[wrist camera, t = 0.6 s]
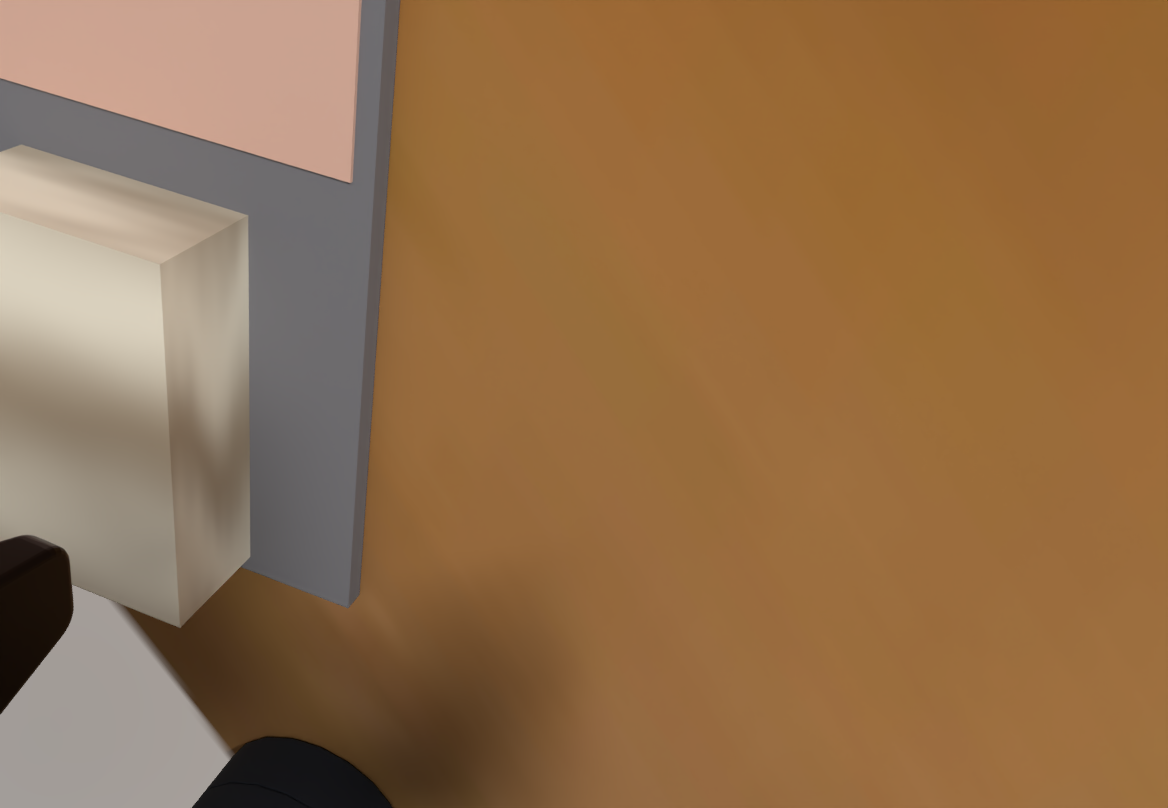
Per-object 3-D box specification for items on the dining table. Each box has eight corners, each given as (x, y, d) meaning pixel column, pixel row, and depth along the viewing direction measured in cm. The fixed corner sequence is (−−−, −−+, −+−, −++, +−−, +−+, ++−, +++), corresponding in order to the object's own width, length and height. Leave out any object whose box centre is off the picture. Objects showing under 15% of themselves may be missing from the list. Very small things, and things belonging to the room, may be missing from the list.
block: (250, 557, 29) (179, 628, 26) (63, 485, 30) (-21, 547, 28) (248, 215, 24) (159, 264, 21) (21, 144, 25) (-88, 183, 22)
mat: (359, 594, 29) (346, 610, 28) (-6, 455, 31) (-25, 467, 31) (422, -328, 18) (403, -333, 17) (-154, -441, 20) (-189, -448, 20)
